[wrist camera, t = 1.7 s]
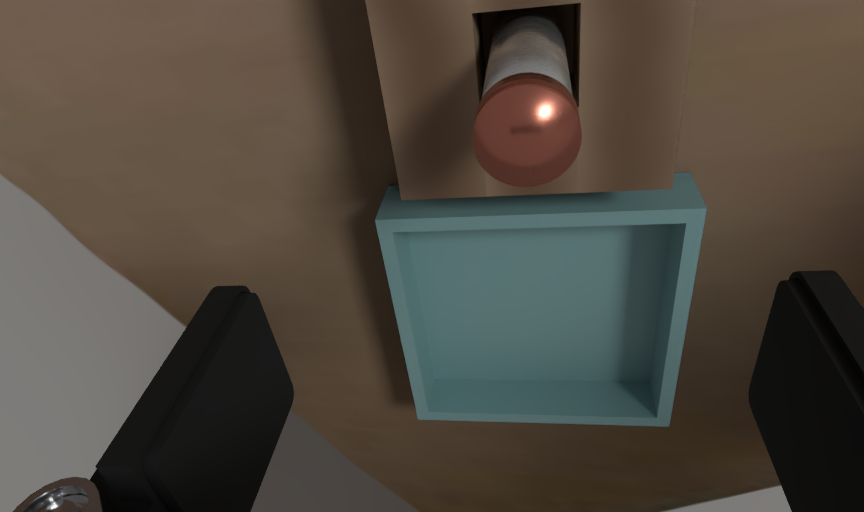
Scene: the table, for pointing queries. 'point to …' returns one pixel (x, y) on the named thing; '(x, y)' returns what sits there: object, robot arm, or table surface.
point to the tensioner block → (590, 81)
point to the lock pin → (527, 101)
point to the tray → (544, 302)
